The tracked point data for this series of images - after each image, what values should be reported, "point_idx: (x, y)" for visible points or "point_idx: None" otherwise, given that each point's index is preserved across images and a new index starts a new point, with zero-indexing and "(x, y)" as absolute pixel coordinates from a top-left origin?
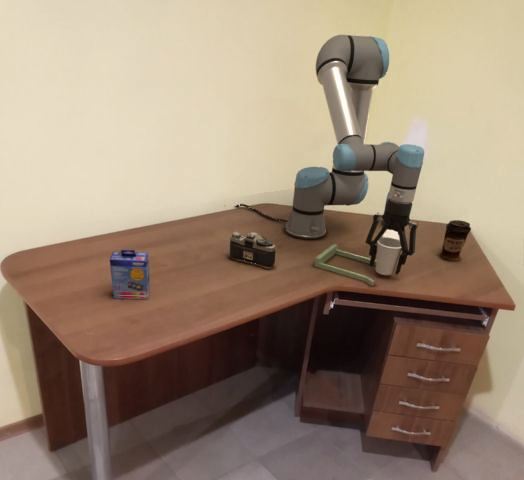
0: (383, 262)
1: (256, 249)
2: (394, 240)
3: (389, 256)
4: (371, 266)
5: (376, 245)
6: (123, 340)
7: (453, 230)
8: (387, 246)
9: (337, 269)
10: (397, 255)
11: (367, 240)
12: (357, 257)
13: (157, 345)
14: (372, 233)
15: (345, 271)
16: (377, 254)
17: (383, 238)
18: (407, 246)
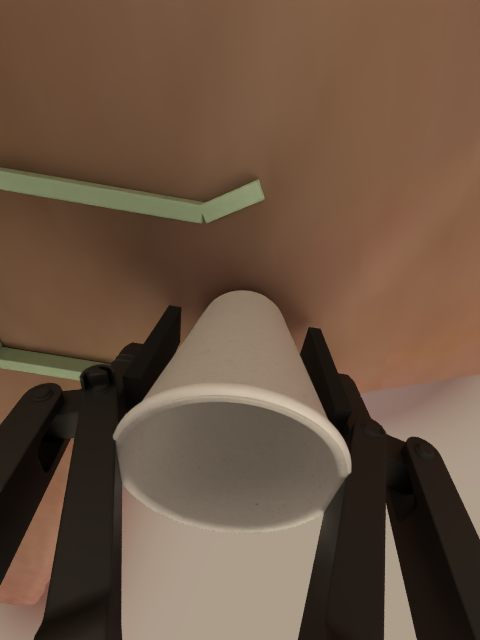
0: (230, 412)
1: None
2: (251, 395)
3: (253, 455)
4: (179, 342)
5: (128, 378)
6: (8, 591)
7: None
8: (223, 531)
9: (74, 378)
10: (300, 441)
11: (48, 446)
12: (61, 198)
13: (41, 591)
14: (25, 530)
15: None
16: (179, 415)
17: (139, 422)
18: (384, 476)
